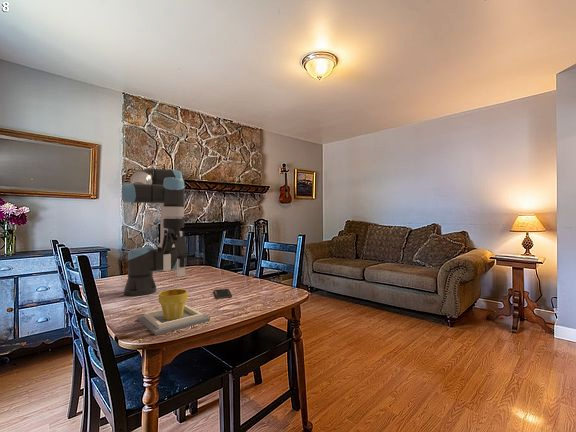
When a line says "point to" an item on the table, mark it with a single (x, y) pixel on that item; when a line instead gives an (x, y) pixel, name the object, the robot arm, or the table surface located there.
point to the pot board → (161, 325)
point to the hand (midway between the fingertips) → (173, 273)
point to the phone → (222, 293)
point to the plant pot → (173, 303)
